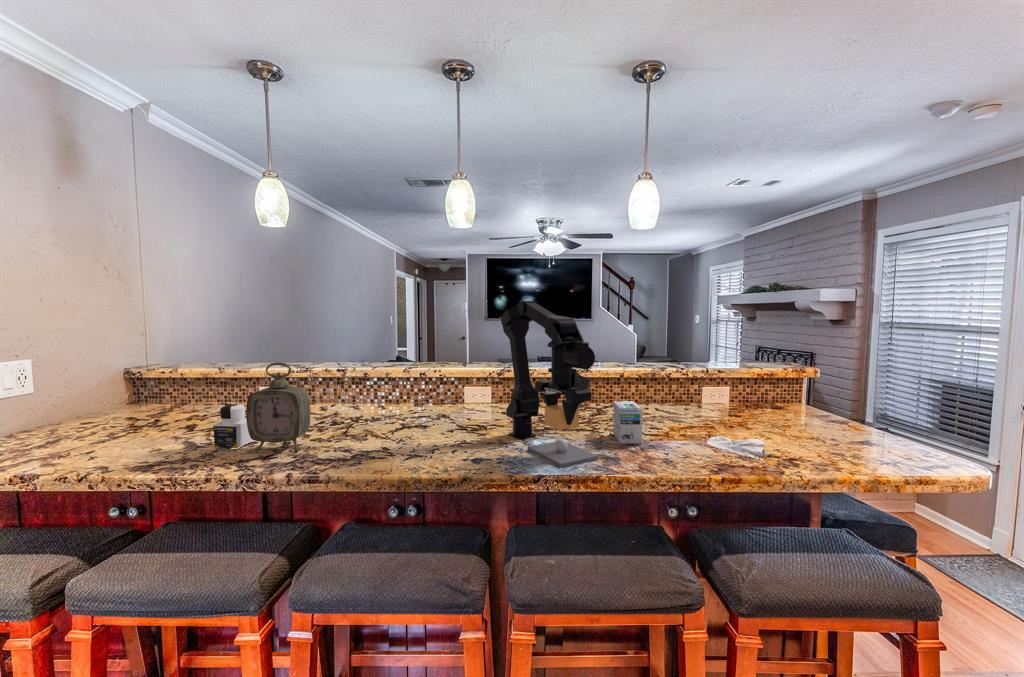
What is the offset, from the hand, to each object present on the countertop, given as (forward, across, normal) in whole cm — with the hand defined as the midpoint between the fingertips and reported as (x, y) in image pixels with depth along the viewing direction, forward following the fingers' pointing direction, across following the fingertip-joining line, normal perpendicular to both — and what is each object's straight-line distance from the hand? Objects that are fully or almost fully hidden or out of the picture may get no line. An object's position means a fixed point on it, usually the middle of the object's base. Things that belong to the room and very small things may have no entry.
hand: (561, 421), depth 124 cm
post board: (+9, 0, 0) cm, 9 cm away
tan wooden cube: (+1, 0, 0) cm, 1 cm away
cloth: (+10, -22, -49) cm, 55 cm away
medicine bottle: (+10, +55, +78) cm, 96 cm away
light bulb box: (+9, +2, -26) cm, 28 cm away
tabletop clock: (+10, +44, +66) cm, 80 cm away
